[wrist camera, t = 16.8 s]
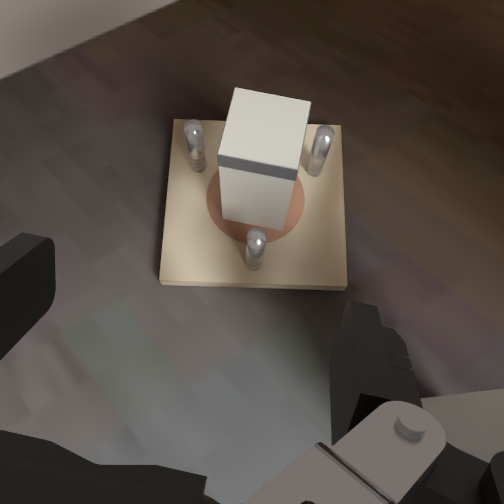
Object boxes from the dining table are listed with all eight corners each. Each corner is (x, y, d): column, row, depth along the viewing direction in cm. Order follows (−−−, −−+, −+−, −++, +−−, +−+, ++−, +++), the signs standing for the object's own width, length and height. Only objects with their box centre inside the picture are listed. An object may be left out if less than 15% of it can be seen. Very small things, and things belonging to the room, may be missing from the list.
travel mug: (353, 419, 31) (528, 421, 13) (443, 385, 32) (731, 338, 13) (393, 521, 30) (669, 701, 11) (487, 482, 30) (896, 585, 12)
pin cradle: (337, 134, 39) (355, 83, 33) (343, 290, 34) (365, 264, 28) (175, 127, 38) (164, 75, 32) (161, 284, 34) (146, 256, 28)
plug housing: (294, 176, 36) (311, 101, 27) (283, 231, 34) (298, 170, 26) (235, 165, 36) (234, 86, 27) (221, 219, 34) (216, 153, 26)
